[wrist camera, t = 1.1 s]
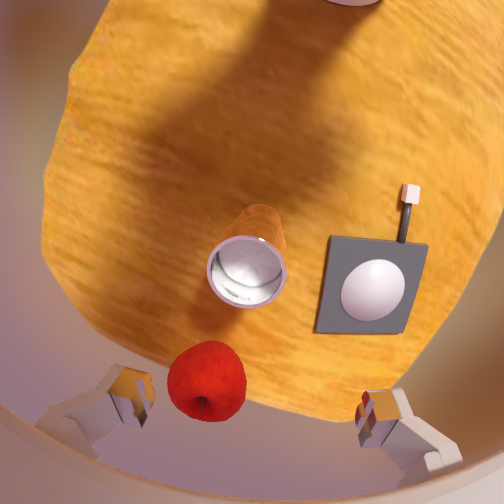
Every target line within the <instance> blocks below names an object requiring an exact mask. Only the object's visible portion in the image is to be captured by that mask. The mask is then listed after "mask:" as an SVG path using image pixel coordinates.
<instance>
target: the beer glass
mask: <svg viewBox="0 0 504 504" xmlns="http://www.w3.org/2000/svg"><path fill="white" fill-rule="evenodd" d="M282 229H283V224H282V220H281V217H280V215H279V214H278V212H277V211H276V210H275V209H274V208H272V207H271V206H268V205H266V204H252V205H249V206H247V207H246V208H244V209H243V210H242V211H241V212H240V214H239V216H238V218H237V220H236V221H234V222H233V223H231V224H230V225H229V226H228V227H227V228H226V229H225V230H224V231H223V232H222V233H221V235H220V236H219V238H218V240H217V241H216V243H215V246H214V248H213V250H212V253H211V254H210V256H209V259H208V262H207V278H208V281H209V284H210V286H211V288H212V289H213V291H214V292H215V293H216V295H217V296H218V297H219V298H221V299H222V300H223V301H225V302H226V303H228V304H230V305H233V306H235V307H239V308H246V309H251V308H258V307H262V306H264V305H267V304H269V303H270V302H272V301H273V300H274V299H276V298H277V297H278V295H279V294H280V293H281V291H282V290H283V288H284V285H285V282H286V276H287V267H288V249H287V244H286V240H285V238H284V236H283V234H282Z"/></svg>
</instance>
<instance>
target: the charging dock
mask: <svg viewBox="0 0 504 504" xmlns="http://www.w3.org/2000/svg"><path fill="white" fill-rule="evenodd" d="M419 195H420V186H417V185H412V184H407V183H403V189H402V196H401V200H402V201H404V202H405V206H404V213H403V219H402V225H401V231H400V236H399V241H390V240H380V239H369V238H358V237H347V236H335V235H331V236H330V244H329V251H328V258H327V265H326V271H325V278H324V284H323V290H322V296H321V302H320V307H319V313H318V318H317V323H316V328H315V329H316V332H318V333H358V334H382V333H403V331H404V329H405V326H406V323H407V320H408V317H409V314H410V311H411V308H412V305H413V302H414V299H415V296H416V293H417V289H418V286H419V282H420V279H421V275H422V271H423V268H424V264H425V260H426V255H427V251H428V247H429V246H427V245H426V244H420V243H410V242H405V241H406V236H407V230H408V225H409V219H410V213H411V206H412V203H413V204H418V202H419Z"/></svg>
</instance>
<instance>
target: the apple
mask: <svg viewBox="0 0 504 504" xmlns="http://www.w3.org/2000/svg"><path fill="white" fill-rule="evenodd" d="M167 381H168V383H167V385H168V393H169V396H170V398H171V401H172V402H173V403H174V405H175V406H176V407H177V409H179V410H180V411H182V412H183V413H185V414H186V415H188V416H189V417H191V418H194V419H198V420H201V421H207V422H219V421H226V420H227V419H229V418H230V417H232V416H233V415H234V414H235V413H236V412H237V411H238V410H239V409H240V407H241V406H242V404H243V403H244V401H245V395H246V386H247V380H246V376H245V372H244V368H243V365H242V362H241V361H240V359H239V357H238V356H237V354H236V353H235V352H234V350H233V349H231V348H230V347H229V346H228V345H226V344H224V343H222V342H219V341H206V342H202V343H199V344H197V345H195V346H194V347H192V348H190V349H188V350H187V351H185V352H183V353H182V354H181V355H180V356H179V357H178V358H177V359H176V360H175V361H174V362H173V364H172V366H171V368H170V371H169V374H168V380H167Z"/></svg>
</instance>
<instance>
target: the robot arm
mask: <svg viewBox="0 0 504 504" xmlns="http://www.w3.org/2000/svg"><path fill="white" fill-rule="evenodd" d="M328 1H331V2H334V3H338V4H343V5H351V6H363V5H369V4H372V3H375V2H377V1H379V0H328ZM150 382H151V376H150V374H149V373H147V372H143V371H138V370H135V369H132V368H128V367H124V366H120V365H117V364H115V365H113V366H112V367H111V368H110V370H109V371H108V373H107V374H106V375H105V377H104V378H103V379H102V381H101V382H100V383H99V385H98V386H97V388H96V389H94V388H92V389H90V390H87V391H85V392H83V393H80V394H78V395H76V396H73V397H71V398H68V399H66V400H64V401H61V402H59V403H56V404H54V405H51V406H49V407H48V408H47V409H46V411H45V412H44V413H43V414H42V416H41V417H40V418H39V420H38V421H37V422H36V424H35V425H34V426H32V425H31V424H29V423H28V422H26V421H25V420H23V419H22V418H20V417H19V416H18V415H16V414H15V413H13V412H12V411H11V410H9V409H8V408H7V407H5V406H4V405H3V404H1V403H0V504H504V449H503V450H501V451H499V452H497V453H495V454H493V455H491V456H489V457H487V458H485V459H483V460H481V461H478V462H476V463H474V464H472V465H469V466H467V467H465V464H464V462H463V459H462V457H461V454H460V452H459V450H458V447H457V445H456V443H454V442H453V441H451V440H450V439H448V438H447V437H445V436H444V435H442V434H441V433H440V432H438V431H437V430H436V429H434V428H433V427H431V426H430V425H429V424H427V423H426V422H424V421H423V420H422V419H420V418H419V417H414V415H413V413H412V410H411V408H410V406H409V403H408V401H407V398H406V396H405V394H404V391H403V389H402V388H393V389H382V390H370V391H365V392H364V393H363V395H362V401H363V402H361V403H360V404H359V405H358V407H357V409H356V414H355V422H356V427H357V428H359V429H360V430H361V431H360V433H359V435H358V437H359V442H360V446H361V448H370V447H379V446H381V448H382V450H383V451H385V453H386V454H387V455H388V456H389V457H390V458H391V459H392V460H393V461H394V462H395V463H396V464H397V465H398V466H399V467H400V469H402V471H404V472H405V474H406V475H405V476H404V477H403V478H402V479H401V480H400V481H399V482H398V483H397V485H396V486H397V489H395V490H390V491H385V492H380V493H374V494H368V495H362V496H356V497H347V498H338V499H326V500H307V501H306V500H305V501H279V500H278V501H277V500H258V499H246V498H236V497H228V496H221V495H215V494H208V493H203V492H198V491H192V490H188V489H183V488H179V487H175V486H171V485H167V484H164V483H160V482H157V481H153V480H150V479H147V478H143V477H140V476H137V475H134V474H131V473H129V472H126V471H123V470H120V469H118V468H115V467H112V466H110V465H108V464H105V463H103V462H100V461H98V460H96V459H97V457H98V455H97V453H96V451H95V450H94V448H93V447H92V446H91V445H92V444H93V443H95V442H96V441H98V440H99V439H101V438H103V437H104V436H106V435H107V434H109V433H110V432H112V431H113V430H115V429H116V428H118V427H119V426H121V425H122V424H123V423H124V424H128V425H131V426H135V427H139V428H142V427H143V425H144V423H145V421H146V418H147V414H146V411H148V410H150V409H151V408H152V406H153V404H154V399H155V391H154V387H153V386H152V385H151V384H150Z"/></svg>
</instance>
